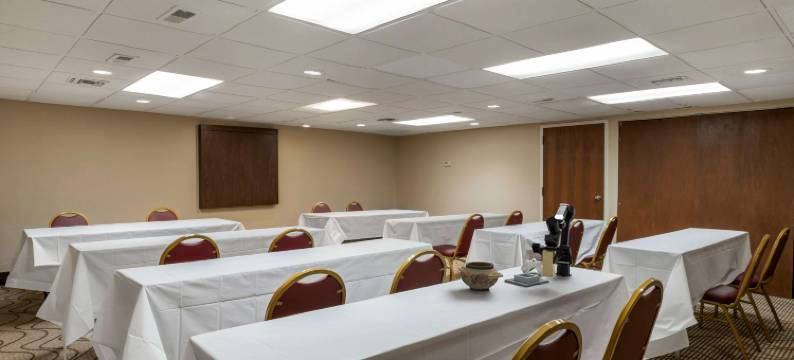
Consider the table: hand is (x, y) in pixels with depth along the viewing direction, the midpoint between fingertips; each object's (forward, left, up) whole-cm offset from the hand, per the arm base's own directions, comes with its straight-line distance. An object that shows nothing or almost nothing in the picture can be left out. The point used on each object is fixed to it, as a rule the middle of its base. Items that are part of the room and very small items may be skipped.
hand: (548, 263), depth 226 cm
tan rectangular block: (-1, -1, -7) cm, 7 cm away
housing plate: (+3, -13, -12) cm, 18 cm away
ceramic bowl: (+35, -6, -12) cm, 38 cm away
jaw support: (-13, -28, -12) cm, 33 cm away
